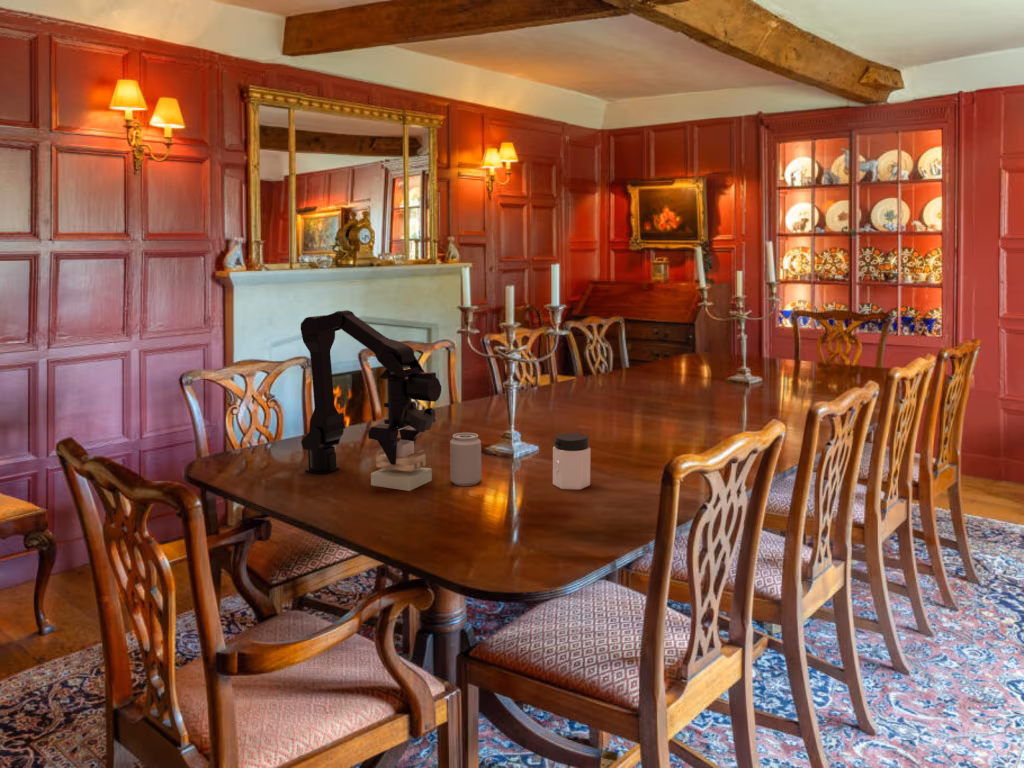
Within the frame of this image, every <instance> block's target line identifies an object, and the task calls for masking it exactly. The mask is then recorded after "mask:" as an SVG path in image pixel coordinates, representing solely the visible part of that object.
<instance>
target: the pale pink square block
mask: <svg viewBox="0 0 1024 768" xmlns="http://www.w3.org/2000/svg"><path fill="white" fill-rule="evenodd" d="M414 452H415V445H414V441H408V440H400V441H399V442H398V443H397V452H396V456H397V457H406V456H408V455H411V454H413V453H414Z"/></svg>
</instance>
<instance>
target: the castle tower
mask: <svg viewBox="0 0 1024 768" xmlns="http://www.w3.org/2000/svg"><path fill="white" fill-rule="evenodd" d="M426 458H427V457H426V449H425V450H424V449H420V450H419V451H416V452H415V451H414V453H413V454H411V455H408V456H406V457H397V456H396V463H395V465H391V464H390V462H389V460H388V458H387V456H386V454H385V452H384V450H383V449H382V448H381V449H380V450H377V451H375V462H376V463H375V464H376V466H375V467H376V468H381V469H382V468H387V469H395V470H402V471H409V472H412V471H414V469H419V468H420V467H423V468H424V467H425V466H427V464H426V463H427V462H426Z"/></svg>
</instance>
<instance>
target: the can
mask: <svg viewBox="0 0 1024 768" xmlns="http://www.w3.org/2000/svg"><path fill="white" fill-rule="evenodd" d="M449 456H450V457H449V459H450V460H449V461H450V464H449V465H450V467H449V469H450V470H449V471H450V473H449V474H450V481H451V482H452V483H453V484H454V485H457V486H459V487H460V486H461V487H469V486H470V487H472V486H475V485H477V484H478V483H480V482H481V480H482V441H481V439H480V438H479V435H478V434H477V433H474V432H457V433H454V434H453V435H452V439H451V440H450V441H449Z"/></svg>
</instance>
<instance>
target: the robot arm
mask: <svg viewBox="0 0 1024 768" xmlns="http://www.w3.org/2000/svg"><path fill="white" fill-rule="evenodd" d="M340 330H342V331H343V332H344V333H346V334H347V335H349V336H350V337H351V338H353V339H354V340H355V341H357V342H359V343H360V344H361V345H363V346H364V347H366V348H367V349H368V350H370V351H371V352H372V353H373V354H374V355H375V358H376V360H377V362H378V363H379V364H380V365H382V367H383V368H385V369H384V371H383V372H382V373H381V374H380V375H379V377H378V378H379V379H380V380H386V391H387V392H386V393H387V397H386V398H387V401H386V402H384V403H383V408H387V418H386V419H384V424H380V423H379V424H376V425H371V427H370V428H368V430H367V438H368V439H370V440H375V441H377V443H378V444H379V445H380V447H381V450H382V449H383V450H384V452H385V454H386V456H387V458H388V460H389V462H390V464H391V465H395V463H396V452H397V443H398V442H399V441H400V440H408V441H414V446H416V445H415V444H416V441H417V438H418V436H420V435H421V434H422V433H425V432H426V431H430V430H431V428H432V426H433V424H435V422H436V421H437V420H436V410H435V408H433V407H428V408H425V409H418V408H417V402H416V401H425V402H431V403H433V402H437V401H438V400H439V399H440V397H441V394H442V385H441V382H440V380H439V378H437V373H436V371H435V372H431V371H430V372H425V370H424V369H423V367H422V365H421V364H420V362H419V360H418V359H417V357H416V356H415V350H414V349H413V348H412V347H411V346H409V345H408V344H407V343H403V342H401V341H399V340H394V339H392V338H391V339H390V338H389V337H386V336H385V335H383V333H380V332H379V331H378V330H377V329H375V328H374V327H372V326H371V325H370V324H368V323H366V322H365V321H363V320H362V319H361V318H360V317H358V316H356V315H355V314H354V312H353V311H351V310H348V309H347V310H337V311H334V312H333V313H330V314H325V315H324V314H323V315H315V316H307V317H305V318H304V319H303V320H302V322H300V332H301V338H302V342H303V345H305V347H306V349H308V352H309V356H310V366H311V367H310V368H311V377H312V389H313V402H314V403H313V404H314V410H313V412H312V413H311V416H310V419H309V430H308V433H306V435H305V436H304V437H303V438H302V440H300V441H301V446H302V449H303V450H306V451H307V461H308V468H305V469H304V472H307V473H314V474H320V475H325V474H328V473H331V472H333V471H336V470H339V469H340V466H339V465H337V453H336V449H335V448H336V447H335V446H337V445H339V444H340V440H341V439H342V436H343V435H344V430H345V429H346V425H345V415H344V413H343V412H340V413H339V411H338V409H337V408H336V407H335V397H334V384H333V382H334V381H333V370H332V360H331V357H332V356H331V351H332V346H333V345H334V342H335V341H336V332H337V331H340ZM414 400H415V401H414ZM398 435H400V437H399V436H398Z"/></svg>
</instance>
